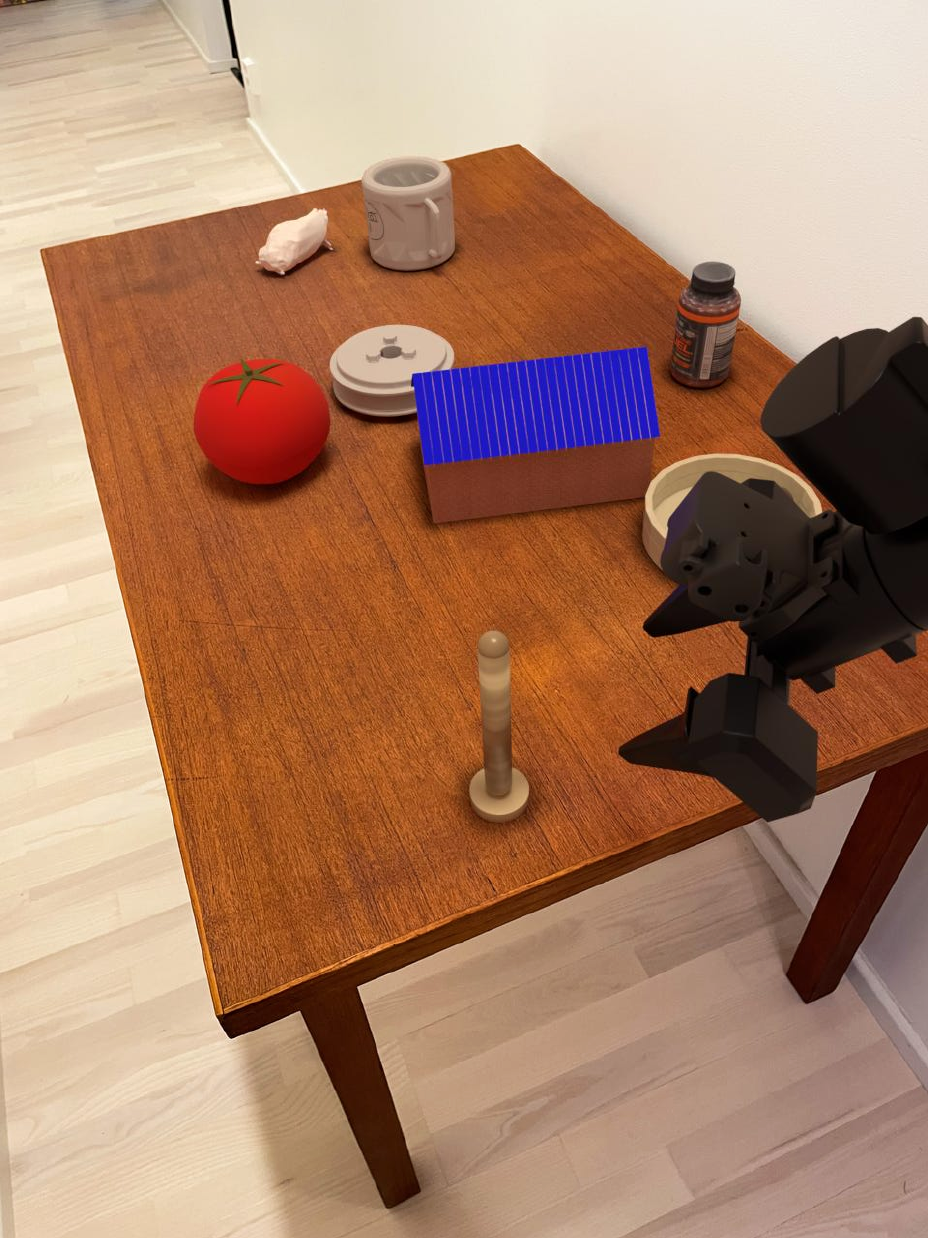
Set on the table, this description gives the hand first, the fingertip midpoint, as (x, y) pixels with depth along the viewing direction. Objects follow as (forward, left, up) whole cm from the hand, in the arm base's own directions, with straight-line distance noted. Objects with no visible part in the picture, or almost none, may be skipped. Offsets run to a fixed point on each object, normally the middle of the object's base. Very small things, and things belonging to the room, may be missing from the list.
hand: (636, 689), depth 53 cm
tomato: (+48, +10, -13) cm, 51 cm away
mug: (+82, -18, -13) cm, 85 cm away
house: (+36, -11, -13) cm, 40 cm away
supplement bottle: (+43, -34, -14) cm, 56 cm away
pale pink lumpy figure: (+88, -3, -13) cm, 89 cm away
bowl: (+20, -22, -13) cm, 33 cm away
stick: (+5, +6, -13) cm, 16 cm away
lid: (+55, -5, -13) cm, 57 cm away
